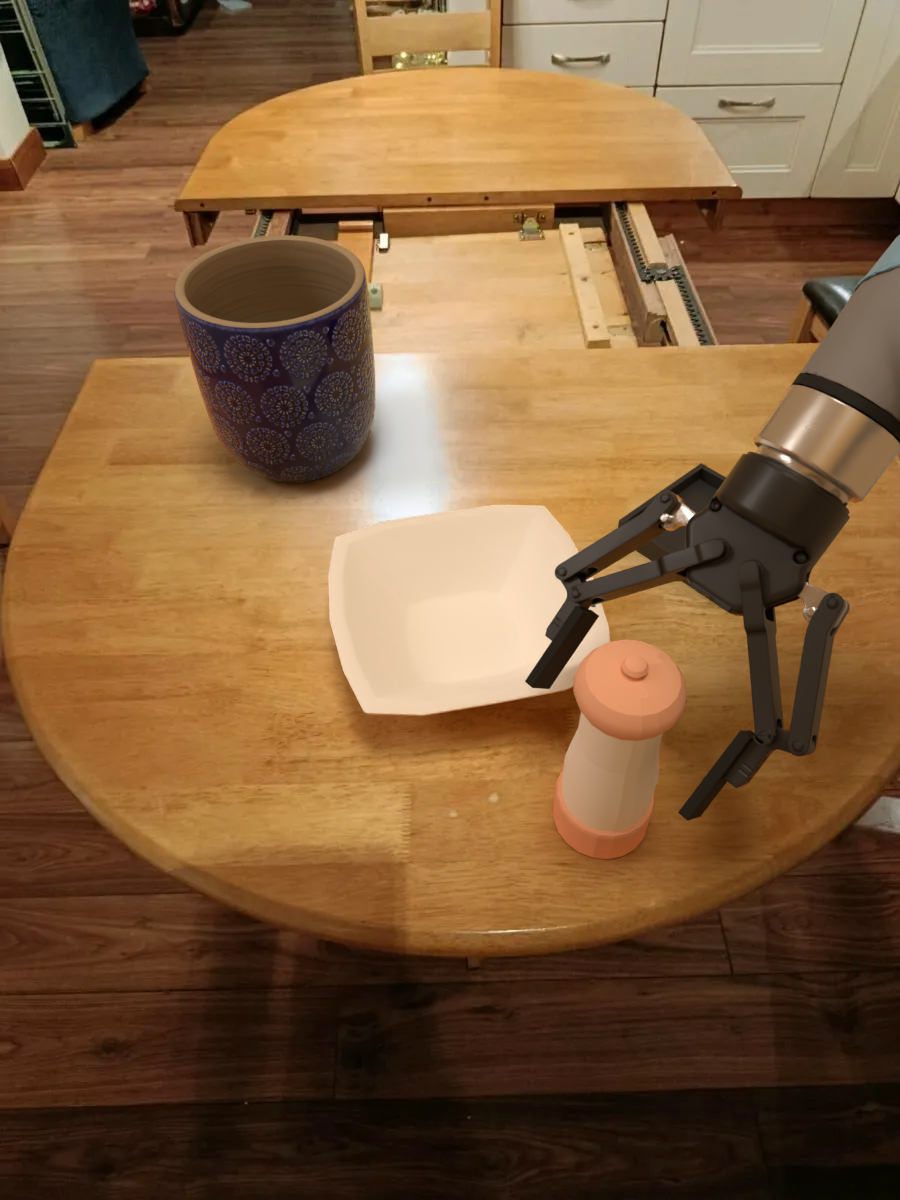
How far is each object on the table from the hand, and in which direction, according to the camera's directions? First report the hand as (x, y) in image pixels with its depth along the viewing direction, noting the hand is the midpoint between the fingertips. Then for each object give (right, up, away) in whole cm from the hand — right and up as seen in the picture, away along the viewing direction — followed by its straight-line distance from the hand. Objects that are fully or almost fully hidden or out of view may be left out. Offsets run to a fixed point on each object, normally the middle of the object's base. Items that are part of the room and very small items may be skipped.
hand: (608, 746), depth 57 cm
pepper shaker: (+1, -7, +8) cm, 11 cm away
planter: (-28, +27, +39) cm, 55 cm away
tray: (+15, +16, +28) cm, 36 cm away
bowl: (-9, +6, +20) cm, 23 cm away
